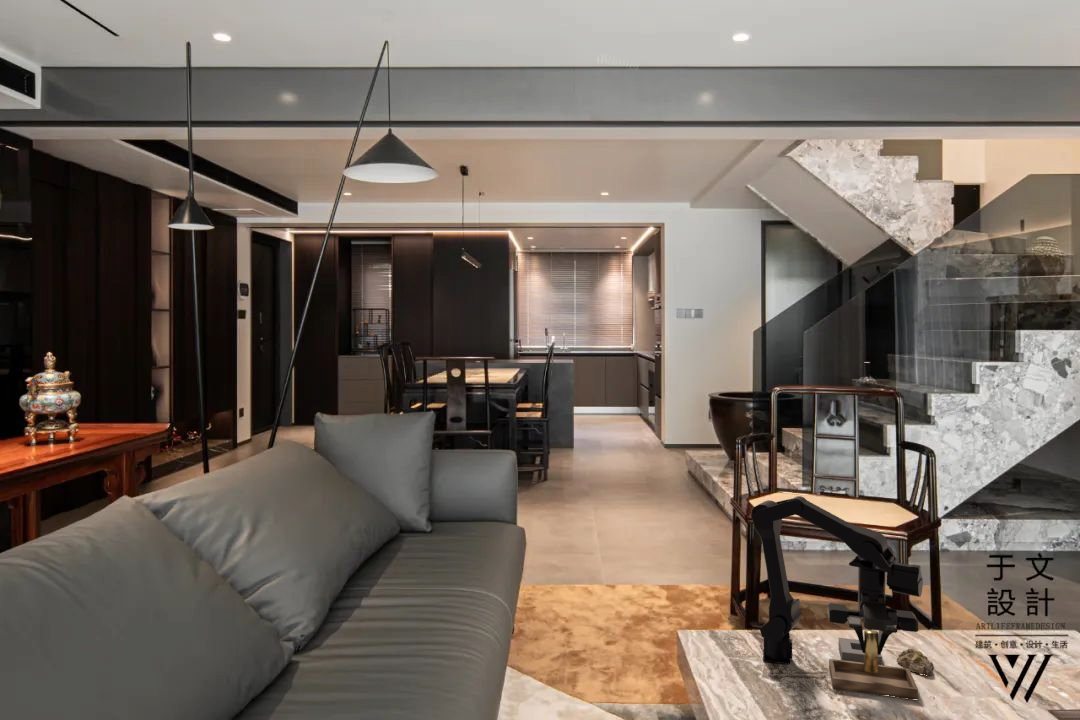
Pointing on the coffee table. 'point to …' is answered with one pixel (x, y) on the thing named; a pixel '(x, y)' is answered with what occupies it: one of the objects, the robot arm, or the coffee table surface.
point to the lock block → (853, 651)
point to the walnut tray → (872, 679)
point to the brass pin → (871, 651)
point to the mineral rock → (915, 662)
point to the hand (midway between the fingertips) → (871, 653)
